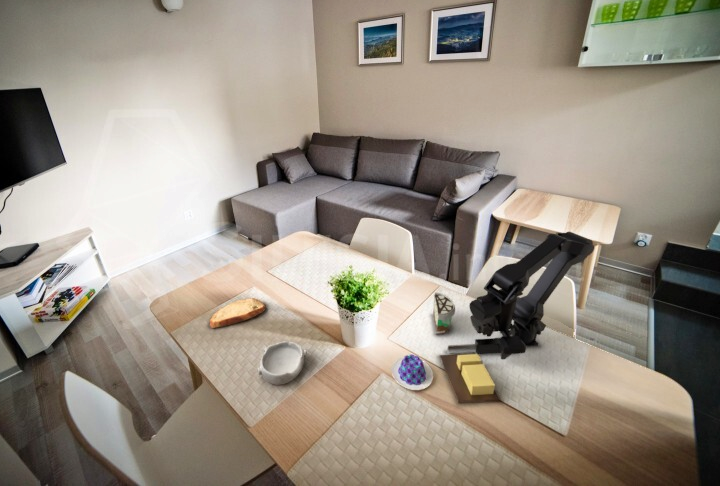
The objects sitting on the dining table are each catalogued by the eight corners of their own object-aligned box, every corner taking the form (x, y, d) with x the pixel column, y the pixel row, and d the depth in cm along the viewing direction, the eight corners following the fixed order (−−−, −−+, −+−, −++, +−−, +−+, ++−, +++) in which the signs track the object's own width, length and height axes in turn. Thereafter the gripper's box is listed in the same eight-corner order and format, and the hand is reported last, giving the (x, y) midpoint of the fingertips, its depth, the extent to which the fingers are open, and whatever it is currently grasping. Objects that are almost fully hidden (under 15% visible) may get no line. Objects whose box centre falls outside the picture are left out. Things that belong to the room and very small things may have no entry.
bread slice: (205, 326, 124) (203, 318, 123) (233, 297, 139) (231, 290, 138) (245, 337, 118) (243, 329, 116) (269, 305, 133) (268, 298, 131)
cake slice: (455, 339, 109) (458, 316, 105) (436, 338, 110) (438, 314, 106) (450, 314, 120) (452, 292, 116) (432, 313, 121) (434, 291, 117)
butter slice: (476, 362, 99) (477, 353, 98) (479, 369, 97) (481, 360, 95) (456, 363, 99) (457, 354, 98) (459, 370, 97) (460, 361, 96)
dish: (310, 355, 108) (309, 344, 106) (294, 392, 96) (292, 380, 94) (271, 346, 112) (269, 336, 110) (251, 380, 101) (248, 369, 99)
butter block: (481, 372, 96) (483, 364, 94) (493, 394, 89) (495, 385, 88) (461, 373, 96) (462, 365, 95) (471, 395, 90) (472, 386, 88)
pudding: (383, 366, 101) (384, 354, 99) (415, 352, 105) (416, 340, 103) (408, 398, 91) (408, 385, 89) (441, 381, 95) (443, 368, 93)
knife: (511, 346, 105) (513, 337, 103) (515, 352, 103) (518, 342, 101) (445, 350, 105) (446, 341, 104) (448, 356, 103) (449, 346, 102)
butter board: (474, 355, 103) (474, 353, 102) (499, 401, 89) (499, 398, 88) (439, 357, 103) (439, 355, 103) (458, 403, 89) (458, 400, 89)
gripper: (463, 290, 105) (458, 327, 112) (490, 333, 89) (483, 373, 95) (497, 288, 105) (491, 325, 112) (532, 330, 88) (521, 371, 95)
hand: (495, 347), depth 103 cm, fingers open, 9 cm apart
